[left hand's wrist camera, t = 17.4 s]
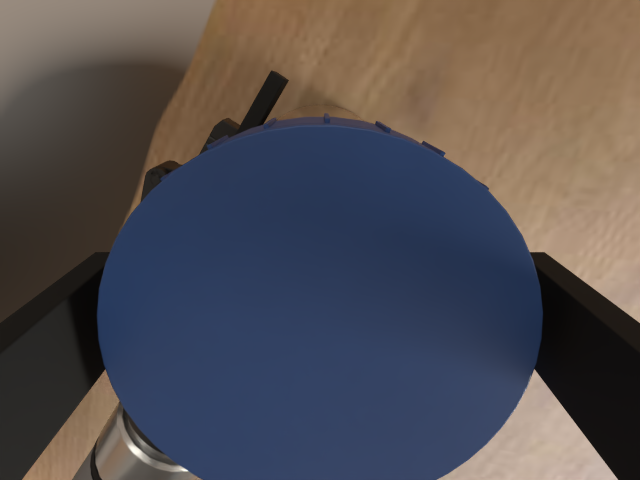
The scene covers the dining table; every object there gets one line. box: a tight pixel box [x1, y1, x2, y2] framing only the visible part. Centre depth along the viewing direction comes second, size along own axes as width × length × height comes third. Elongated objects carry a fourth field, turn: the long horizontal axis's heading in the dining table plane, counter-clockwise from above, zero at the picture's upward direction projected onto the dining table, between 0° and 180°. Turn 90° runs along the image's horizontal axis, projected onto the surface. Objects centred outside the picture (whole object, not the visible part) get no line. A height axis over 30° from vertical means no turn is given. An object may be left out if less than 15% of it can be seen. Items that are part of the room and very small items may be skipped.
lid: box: [97, 113, 543, 480], centre depth 11 cm, size 11×11×2 cm
